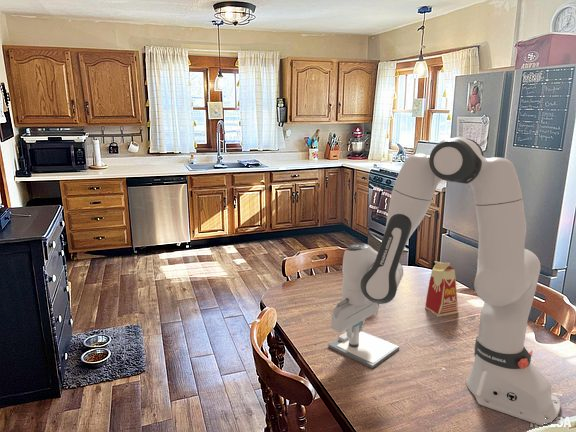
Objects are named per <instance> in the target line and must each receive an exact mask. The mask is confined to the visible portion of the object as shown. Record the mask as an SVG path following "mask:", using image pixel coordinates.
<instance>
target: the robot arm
mask: <svg viewBox="0 0 576 432" xmlns="http://www.w3.org/2000/svg"><path fill="white" fill-rule="evenodd" d="M442 181H446V182H450V183H459V184H463V185H464V184H466V185H467V184H469V186H470V187H471V190H472V194H473V195H472V196H473V200H474V201H473V202H474V208H475V214H476V215H475V217H476V222H477V223H476V224H477V229H478V245H477V246H478V247H477V269H476V274H475V278H474V283H473V287H474V290H475V293H476V295H477V296H478V298H479V299H480V300H481V301H482V302H484V304H483V306H482V308H481V310H480V318H479V319H480V320H479V325H478V332H477V333H478V335H477V336H476V339H475V343H474V353H473V354H474V355H473V356H474V360H473V364H472V368H471V371H470V373H469V375H468V376H467V379H466V386H467V388H468V390H469V391H470V392H471V393H472V394H473V396H474V397H475V399H476V400H475V401H476V402H477V404H478V405H480V406H483V407H485V408H489V409H491V410H494V411H497V412H500V413H503V414H505V415H506V414H507V415H509V416H512V417H515V418H517V419H520V420H523V421H526V422H529V423H532V424H535V423H536V424H535V425H538V426H543V425H542V424H544V423H549V422H551V421H553V420H554V419H555V418H556V417H557V418H558V416H559V415H560V412H561V402H560V399H559V398H558V397H557V396H556V395H554V394H553V393H552V386H551V382H550V381H549V379H548V378H547V377H546V376H545V375H544V374H543V373H542V372H541V371H540V370H539V369H537V367H536V366H534V364H533V363H532V362H531V361H532V357H533V350H531V351H530V352H529V351H528V350H527V348H526V347H525V340H526V333H527V326H528V320H529V316H530V313H531V309H532V306H533V302H534V299H535V295H536V290H537V286H538V281H539V277H540V273H541V262H540V259H539V258H538V256H537V255H536V254H535V253H534V252H533V251H531V250H529V249H527V248H526V247H525V246H526V235H527V232H528V231H527V230H528V229H527V228H528V227H527V220H526V213H525V205H524V204H525V203H524V199H523V191H522V187H521V182H520V179H519V175H518V173H517V170H516V168H515V165H514V164H513V162H512V161H511V160H509V159H507V158H505V157H500V156H499V157H498V156H497V157H496V156H495V157H485V156H484V152H483V148H482V147H481V146H480V144H479V143H478V142H477V141H475V140H473V139H470V138H467V137H466V138H465V137H459V136H457V137H451V138H446V139H444V140H442V141H440V142H438V143H437V144H436V145H435V146H434V147H433V148H432V150H431V152H430V154H425V153H415V154H412V155H411V154H410V156H408V157H407V158H406V159H405V161H404V163H403V164H402V166H401V167H400V170H399V172H398V174H397V177H396V179H395V182H394V185H393V188H392V191H391V195H390V199H389V205H388V211H387V216H386V224H385V229H384V234H383V237H382V240H381V243H380V246H379V249H378V251H377V250H376V249H374V248H373V247H372V246H370V245H369V244H368V243H355V244H352V245H350V246H348V247H347V248H346V249H345V250H344V253H343V258H342V269H341V271H342V276H343V279H342V283H341V301H339V302H337V303H336V305H335V306H334V307H333V310H332V313H331V321H330V328H331V329H332V330H333V331H334V332H337V333H343V332H347V337H349V338H352V337H353V336H354V332H353V331H352V330H351V329H352V326H354V325H355V324H357V323H359V322H360V327H359V333H360V332H362V331H363V329H364V327H363V326H365V325H364V324H365V323H366V319H367V318H369V317H371V316H373V315H374V314H377V311H378V310H379V305H384V304H388V303H390V302H391V301H393V299H394V298H395V297H396V294H397V291H398V288H399V285H400V283H401V280H402V278H403V277H404V268H403V265H402V264H401V262H400V261H401V259H402V255H403V253H404V250H405V248H406V245H407V243H408V242H409V239H410V238H411V236H412V235H413V233H414V232H415V231H416V229H417V228H418V227H419V225H420V224H421V223H422V221H423V219H424V218H425V216H426V214H427V212H428V210H429V208H430V206H431V204H432V202H433V198H434V194H435V192H436V190H437V187H438V185H439V184H440V183H441V182H442ZM558 414H559V415H558ZM545 418H546V419H545ZM557 418H556V419H557ZM556 419H555V420H556ZM555 420H554V421H555ZM554 421H553V422H554Z"/></svg>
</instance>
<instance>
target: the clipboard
mask: <svg viewBox="0 0 576 432" xmlns="http://www.w3.org/2000/svg"><path fill="white" fill-rule="evenodd" d="M328 348H330V349H332V350H333V351H335V352H338V353H340V354H342V355H344V356H345V357H348V358H350V359H351V360H354V361H356V362H358V363H360V364H362V365H364V366H366V367H368V368H371V369H374V368H375V367H377V366H378V365H379V364H381V363H382V362H384V361H385V360H386V359H388V358H389V357H390V356H391V355H394V354H395V353H396V352H397V351H399V350H400V346H399V345H397V344H396V343H395V344H394V343H392V342H390V341H387V340H386V339H383V338H380V337H379V336H376V335H374V334H371V333H369V332H367V331H364V330H362V332H360V333H359V346H358V347H355V348H354V347H350V346H349V337H347V332H346V331H344V333H342V334H340V335H339V336H338V338H337V339H335V340H334V341H332V342H329V344H328Z"/></svg>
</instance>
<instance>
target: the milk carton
mask: <svg viewBox="0 0 576 432" xmlns="http://www.w3.org/2000/svg"><path fill="white" fill-rule="evenodd" d="M434 263H435V264H434V266H433V268H432V270H431V273H430V278H429V282H428V287H427V292H426V299H425V307H424V308H425V309H426V310H427V311H430V312H432V313H433V314H434V315H435V316H437V317H438V318H439V317H443V316H448V315H449V316H450V315H454V314H459V306H458V305H459V304H458V292H457V279H456V269H455V268H453V267H452V266H450V265H451V262H440V261H435V260H434Z"/></svg>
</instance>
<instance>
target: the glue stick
mask: <svg viewBox="0 0 576 432" xmlns="http://www.w3.org/2000/svg"><path fill="white" fill-rule="evenodd" d="M359 327H360V322H359V323H357V324H355V325H354V326H352V329H351V330H352V331H353V332H354V336H353V337H352V338H349V346H350V347H354V348H355V347H358V346H359Z"/></svg>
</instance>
